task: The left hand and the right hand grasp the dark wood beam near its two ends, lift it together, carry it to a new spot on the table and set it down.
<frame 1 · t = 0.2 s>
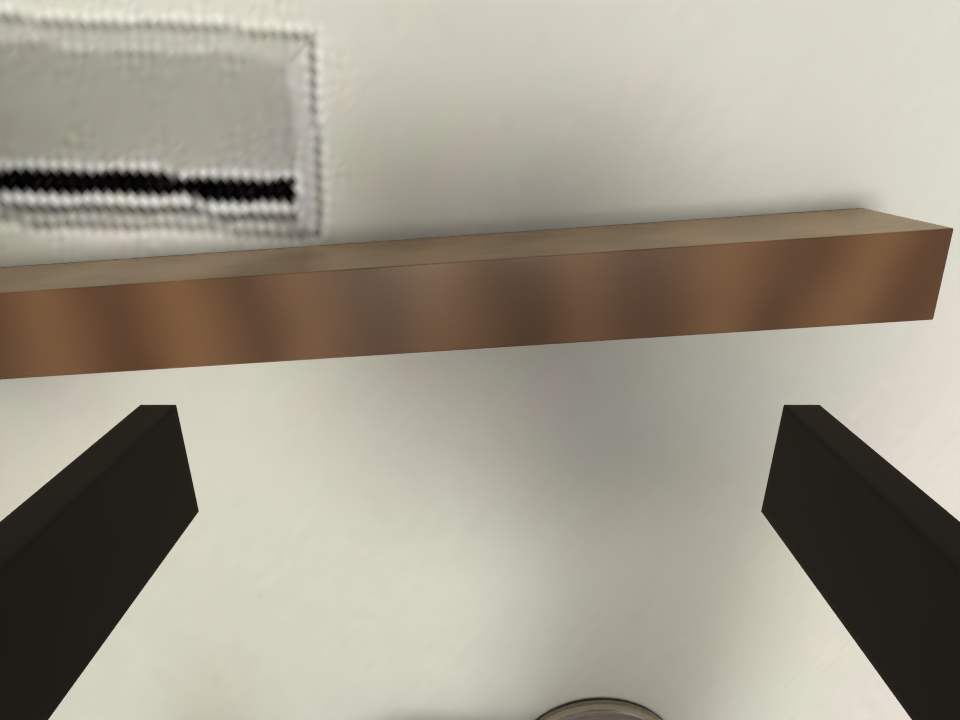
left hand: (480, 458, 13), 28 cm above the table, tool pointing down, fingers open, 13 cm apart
beam: (396, 277, 40), on the table
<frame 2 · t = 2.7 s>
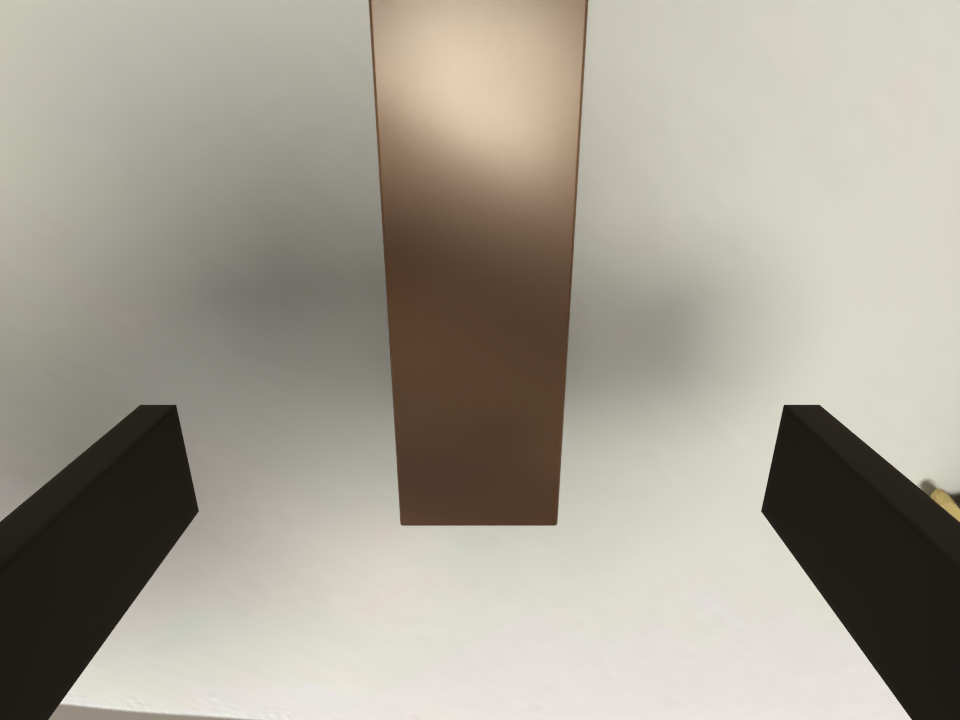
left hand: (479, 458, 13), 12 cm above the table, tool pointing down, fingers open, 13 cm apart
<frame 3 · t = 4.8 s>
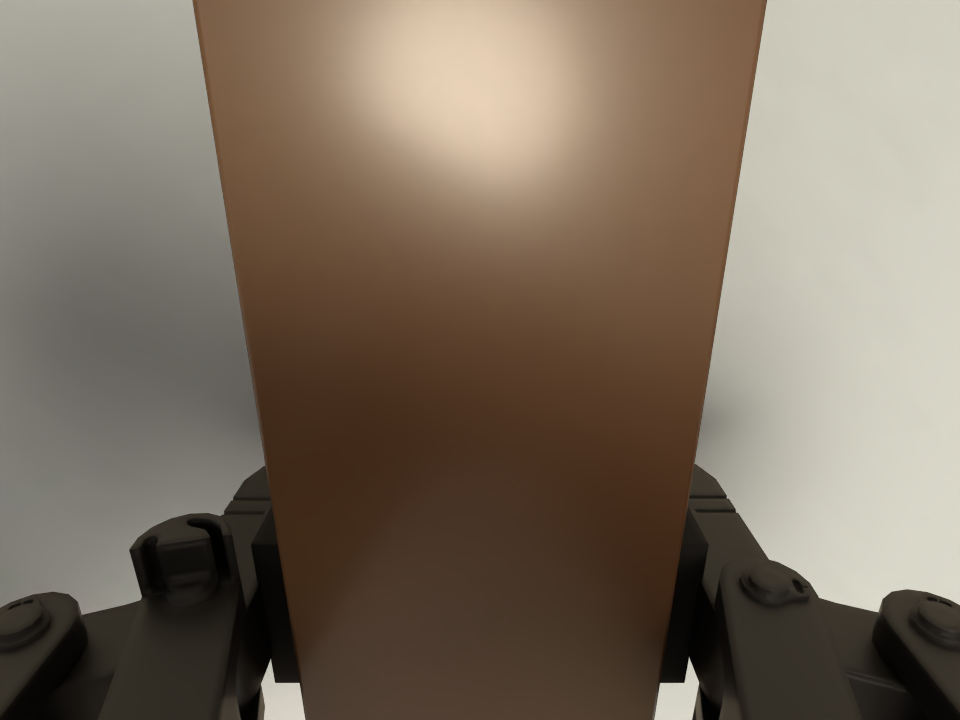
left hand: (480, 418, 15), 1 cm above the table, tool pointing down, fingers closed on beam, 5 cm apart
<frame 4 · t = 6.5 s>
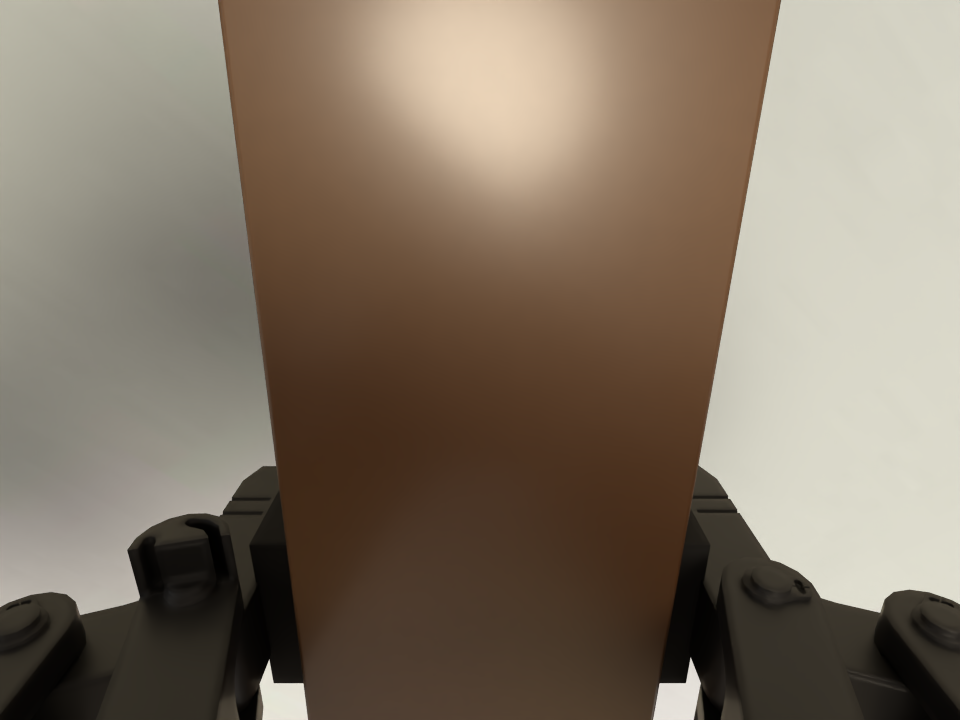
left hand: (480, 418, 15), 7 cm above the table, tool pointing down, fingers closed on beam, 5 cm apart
when the left hand's fingers open (2 cm above the table, at t = 8.5 s): beam drops 2 cm, on the table.
when the right hand's fingers open (5 cm above the table, at t = 8.6 s): beam stays where it is, on the table.
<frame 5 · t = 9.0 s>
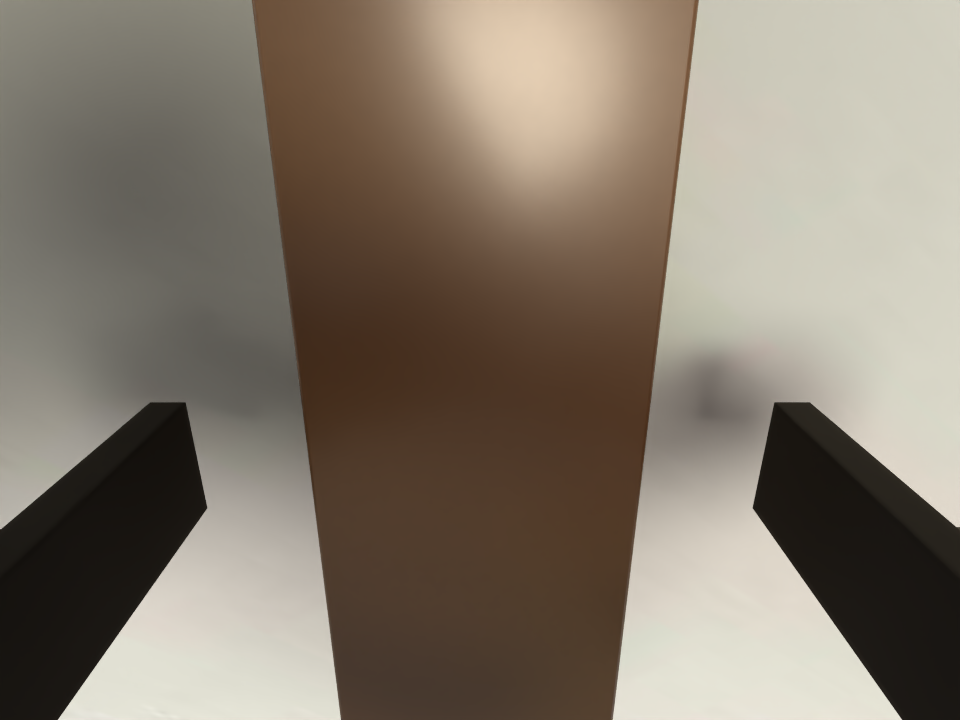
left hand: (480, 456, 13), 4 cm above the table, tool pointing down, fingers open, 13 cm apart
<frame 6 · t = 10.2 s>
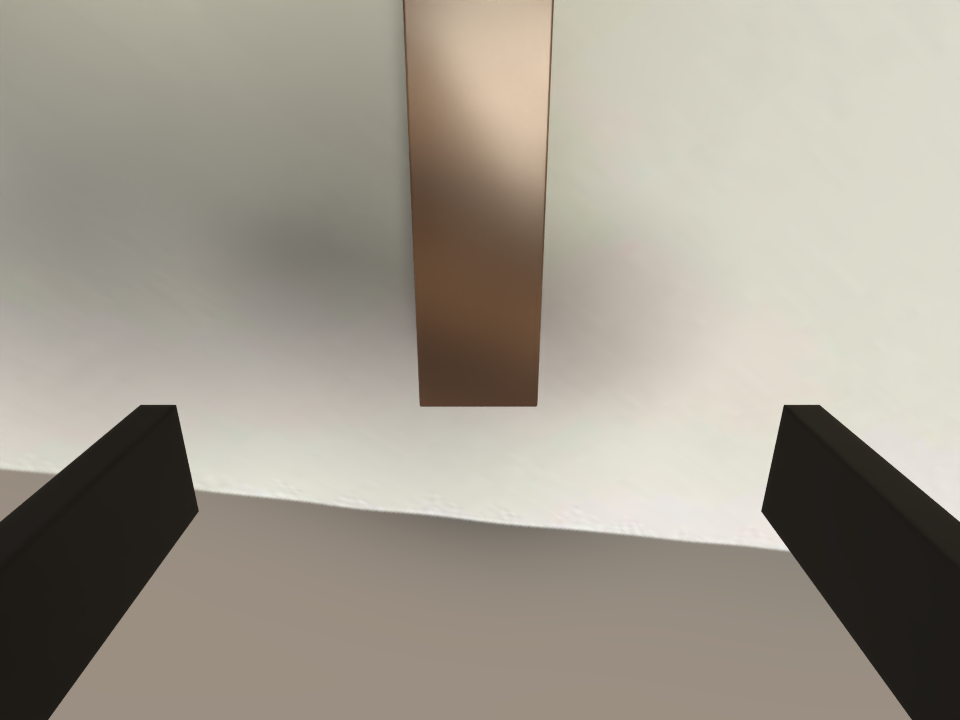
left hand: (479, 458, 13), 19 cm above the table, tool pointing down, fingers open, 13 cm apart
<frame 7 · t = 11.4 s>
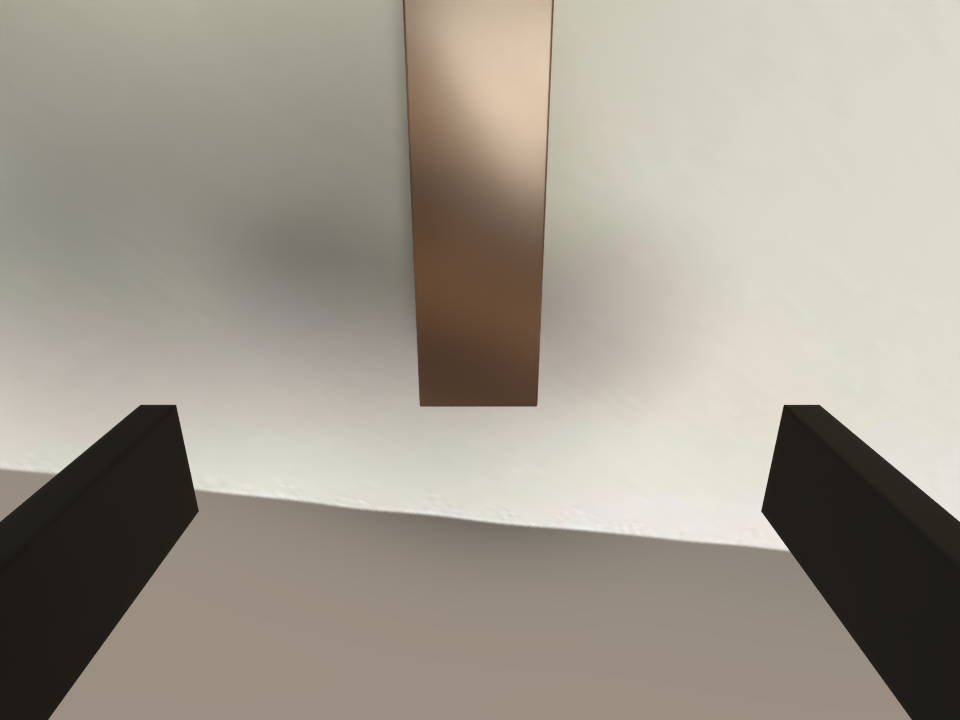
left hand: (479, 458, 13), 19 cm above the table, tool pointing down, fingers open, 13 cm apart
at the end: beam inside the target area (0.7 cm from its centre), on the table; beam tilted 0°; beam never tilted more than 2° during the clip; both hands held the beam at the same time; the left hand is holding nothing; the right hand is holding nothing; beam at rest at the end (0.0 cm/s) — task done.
